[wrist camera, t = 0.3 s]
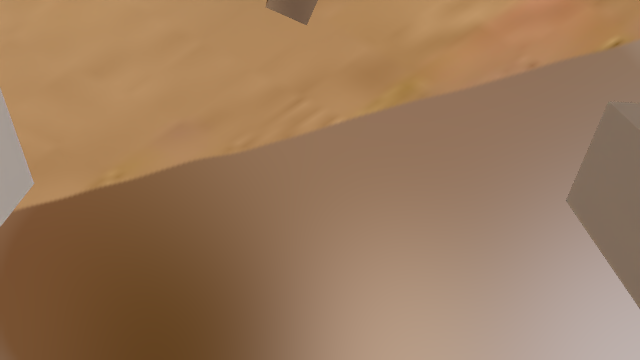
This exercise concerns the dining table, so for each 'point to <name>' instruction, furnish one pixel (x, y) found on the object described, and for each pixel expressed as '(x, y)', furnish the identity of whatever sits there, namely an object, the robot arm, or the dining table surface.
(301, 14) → the brown square block
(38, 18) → the dining table surface
